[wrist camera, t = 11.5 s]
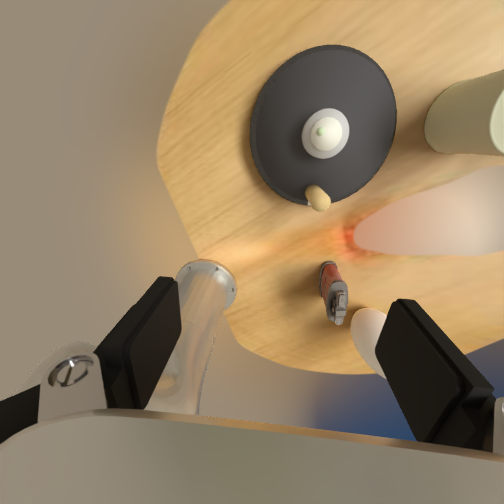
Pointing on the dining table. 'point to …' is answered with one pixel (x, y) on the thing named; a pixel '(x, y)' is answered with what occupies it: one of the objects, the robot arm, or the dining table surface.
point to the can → (469, 117)
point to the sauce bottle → (368, 335)
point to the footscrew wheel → (325, 126)
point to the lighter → (333, 292)
